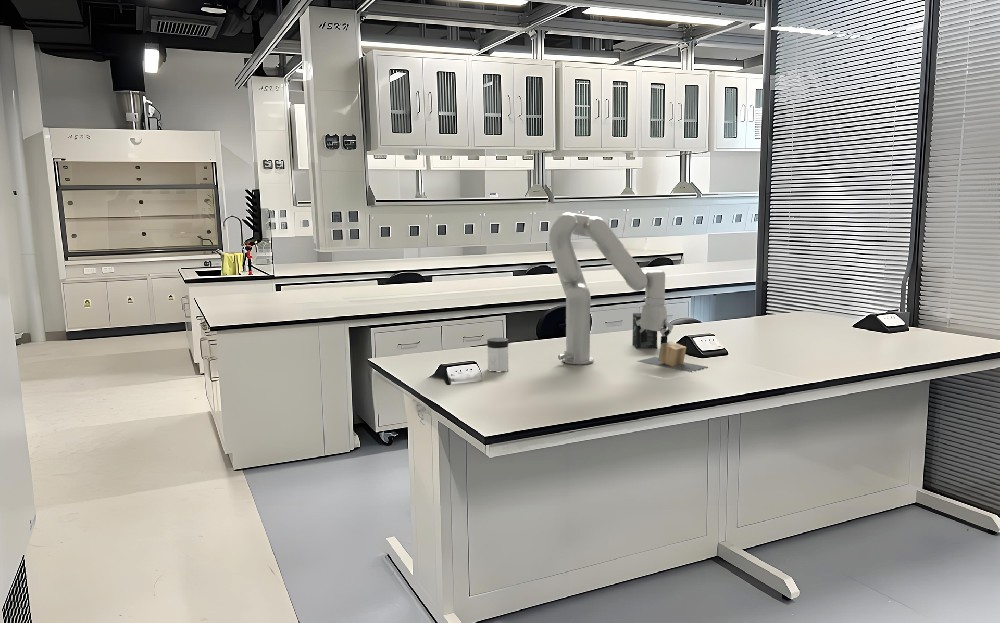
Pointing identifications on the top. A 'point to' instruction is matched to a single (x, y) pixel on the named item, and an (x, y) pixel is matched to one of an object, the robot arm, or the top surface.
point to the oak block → (672, 353)
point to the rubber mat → (683, 367)
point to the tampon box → (637, 335)
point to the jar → (497, 354)
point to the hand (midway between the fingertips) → (653, 343)
